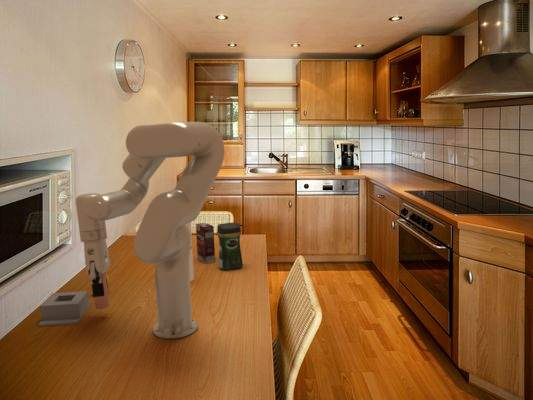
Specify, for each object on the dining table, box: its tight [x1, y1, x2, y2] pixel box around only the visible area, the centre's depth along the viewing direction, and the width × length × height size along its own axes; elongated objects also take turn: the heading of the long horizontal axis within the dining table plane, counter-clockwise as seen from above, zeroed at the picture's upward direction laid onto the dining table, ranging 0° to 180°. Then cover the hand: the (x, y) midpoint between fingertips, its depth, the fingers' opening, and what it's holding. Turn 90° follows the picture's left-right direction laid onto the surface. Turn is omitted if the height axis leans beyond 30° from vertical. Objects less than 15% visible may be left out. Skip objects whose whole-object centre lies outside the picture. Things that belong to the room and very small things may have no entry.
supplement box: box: [195, 222, 216, 264], centre depth 200 cm, size 9×5×16 cm, turn 33°
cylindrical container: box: [185, 222, 195, 282], centre depth 174 cm, size 7×7×25 cm
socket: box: [38, 290, 92, 327], centre depth 146 cm, size 16×11×5 cm
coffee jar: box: [216, 221, 244, 271], centre depth 189 cm, size 10×8×19 cm
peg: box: [93, 271, 110, 310], centre depth 141 cm, size 4×4×12 cm
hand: (100, 293), depth 142 cm, fingers closed on peg, 4 cm apart
